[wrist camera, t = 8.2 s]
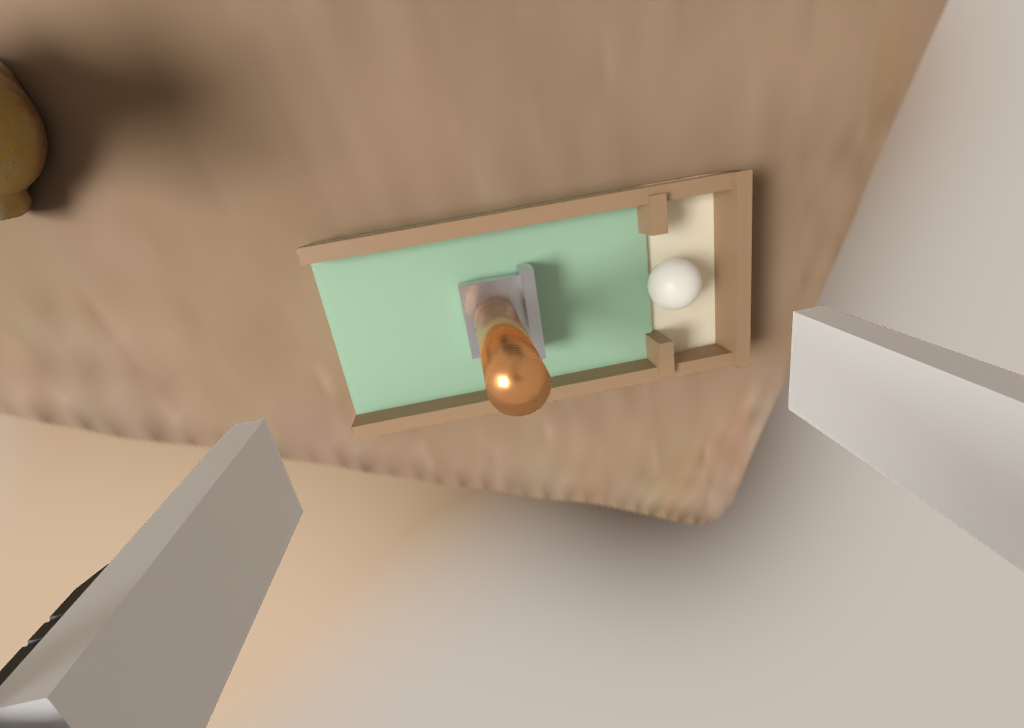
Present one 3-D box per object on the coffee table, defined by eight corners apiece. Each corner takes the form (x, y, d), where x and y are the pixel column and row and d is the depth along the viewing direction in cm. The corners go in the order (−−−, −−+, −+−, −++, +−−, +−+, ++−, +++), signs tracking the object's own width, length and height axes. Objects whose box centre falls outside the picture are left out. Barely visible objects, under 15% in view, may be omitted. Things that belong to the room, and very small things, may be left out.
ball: (680, 251, 34) (636, 260, 33) (713, 255, 31) (664, 266, 30) (682, 299, 35) (639, 309, 35) (713, 308, 32) (667, 320, 31)
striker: (456, 275, 32) (458, 328, 20) (527, 262, 32) (574, 306, 20) (473, 360, 34) (485, 456, 22) (540, 347, 34) (589, 435, 22)
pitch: (310, 243, 32) (292, 249, 28) (721, 171, 33) (752, 169, 30) (363, 419, 36) (353, 443, 33) (722, 349, 38) (750, 365, 34)
